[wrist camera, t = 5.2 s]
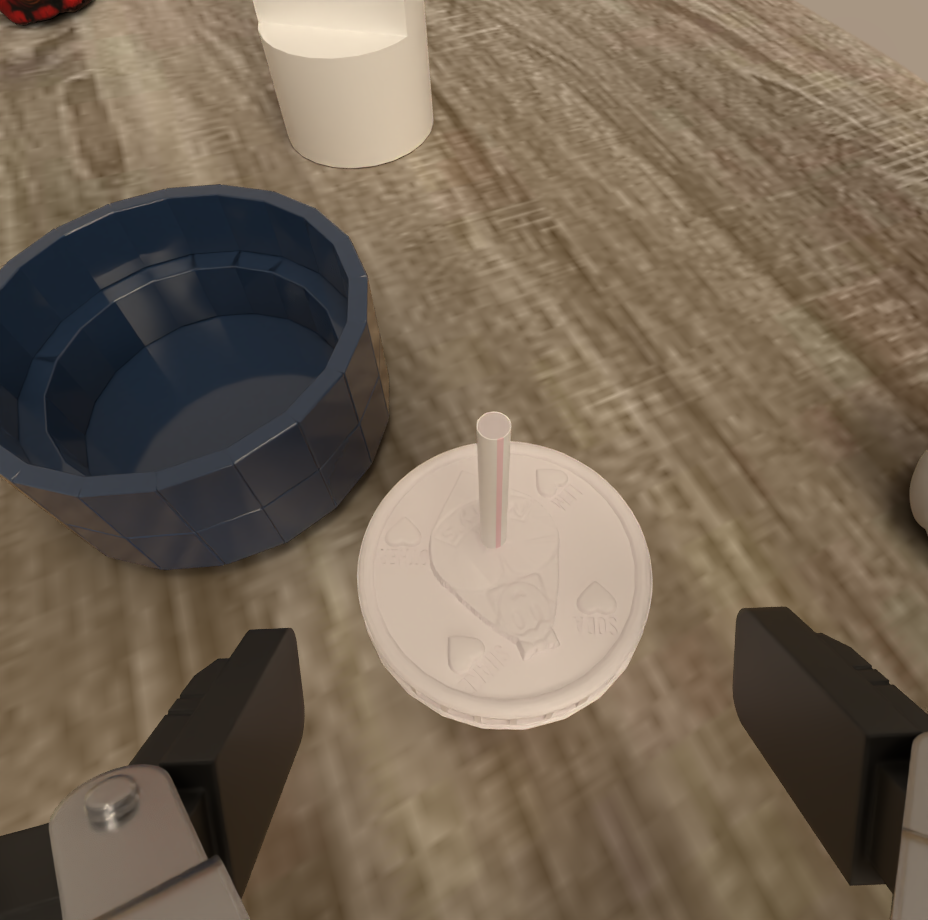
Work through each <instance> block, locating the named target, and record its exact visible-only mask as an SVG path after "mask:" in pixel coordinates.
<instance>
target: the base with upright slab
mask: <svg viewBox="0 0 928 920" xmlns="http://www.w3.org/2000/svg"><path fill="white" fill-rule="evenodd" d="M253 4H254V7H255V11H256V14H257V18H258V31H259V35H260V38H261V42H262V45H263V49H264V52H265V56H266V60H267V63H268V67H269V70H270V74H271V77H272V81H273V84H274V88H275V91H276V95H277V99H278V102H279V106H280V109H281V113H282V116H283V120H284V123H285V127H286V131H287V134H288V137H289V140H290V142H291V144H292V146H293V148H294V149H295V150H296V151H298V152H299V153H300V154H301V155H302V156H303V157H305V158H307V159H309V160H311V161H313V162H316V163H318V164H323V165H327V166H331V167H339V168H361V167H370V166H376V165H380V164H383V163H387V162H391V161H394V160H396V159H398V158H400V157H402V156H404V155H407V154H409V153H410V152H412V151H413V150H414V149H416V148H417V147H418V146H420V145H421V144H422V143H423V142H424V141H425V139H426V138H427V137H428V135H429V134H430V132H431V129H432V125H433V122H434V121H433V108H432V95H431V82H430V69H429V56H428V44H427V31H426V18H425V5H424V0H253Z"/></svg>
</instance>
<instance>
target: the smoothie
mask: <svg viewBox="0 0 928 920" xmlns="http://www.w3.org/2000/svg"><path fill="white" fill-rule="evenodd" d="M357 586H358V595H359V602H360V606H361V610H362V614H363V618H364V620H365V625H366V630H367V632H368V634H369V637H370V639H371V641H372V643H373V645H374V647H375V650H376V652H377V654H378V656H379V658H380V660H381V662H382V664H383V665H384V667H385V668H386V669H387V670H388V671H389V672H390V674H391V675H392V676H393V677H394V678H395V679H396V680H397V682H398V683H399V684H400V685H401V686H402V687H403V688H404V690H405V691H406V692H407V693H408V694H409V695H411V696H412V697H414V698H415V699H417V700H418V701H420V702H421V703H423V704H424V705H426V706H427V707H429V708H431V709H432V710H434V711H435V712H437V713H438V714H440V715H441V716H443V717H446V718H450V719H453V720H456V721H459V722H462V723H466V724H469V725H472V726H475V727H479V728H482V729H499V730H500V729H516V730H525V729H529V728H533V727H537V726H540V725H544V724H548V723H552V722H556V721H559V720H563V719H566V718H567V717H569V716H571V715H572V714H574V713H576V712H577V711H579V710H581V709H582V708H584V707H586V706H587V705H589V704H591V703H592V702H594V701H595V700H597V699H599V698H600V697H601V696H602V695H603V694H604V693H605V692H606V690H607V689H608V688H609V687H610V686H611V685H612V684H613V683H614V682H615V680H616V679H617V678H618V677H619V676H620V675H621V674H622V673H623V672H624V670H625V669H626V668H627V666H628V664H629V662H630V660H631V658H632V655H633V653H634V651H635V649H636V647H637V645H638V643H639V641H640V638H641V636H642V634H643V630H644V627H645V624H646V621H647V618H648V614H649V610H650V605H651V597H652V567H651V560H650V555H649V550H648V547H647V544H646V540H645V537H644V535H643V532H642V530H641V527H640V525H639V523H638V521H637V520H636V518H635V516H634V514H633V512H632V511H631V509H630V508H629V506H628V505H627V503H626V502H625V501H624V499H623V498H622V497H621V496H620V494H619V493H618V492H617V491H616V490H615V489H614V488H613V487H612V486H611V485H610V484H609V483H608V482H607V481H606V480H605V479H604V478H603V477H601V476H600V475H599V474H598V473H596V472H595V471H594V470H592V469H591V468H589V467H588V466H586V465H585V464H583V463H581V462H580V461H578V460H576V459H574V458H572V457H570V456H568V455H566V454H564V453H561V452H559V451H556V450H553V449H550V448H547V447H543V446H540V445H535V444H530V443H524V442H516V441H511V422H510V420H509V418H508V417H507V416H506V415H504V414H502V413H500V412H488V413H485V414H484V415H482V416H481V417H480V418H479V419H478V421H477V443H474V444H469V445H465V446H461V447H458V448H454V449H451V450H449V451H446V452H444V453H441V454H439V455H437V456H435V457H433V458H431V459H429V460H427V461H425V462H424V463H422V464H420V465H419V466H417V467H416V468H415V469H413V470H412V471H410V472H409V473H408V474H407V475H405V476H404V477H403V478H402V479H401V480H400V481H399V482H398V483H397V484H396V485H395V486H394V487H393V488H392V489H391V490H390V491H389V492H388V494H387V495H386V496H385V497H384V499H383V500H382V501H381V503H380V504H379V506H378V508H377V509H376V511H375V512H374V514H373V516H372V518H371V520H370V522H369V524H368V527H367V529H366V532H365V534H364V537H363V541H362V544H361V548H360V553H359V559H358V570H357Z"/></svg>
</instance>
